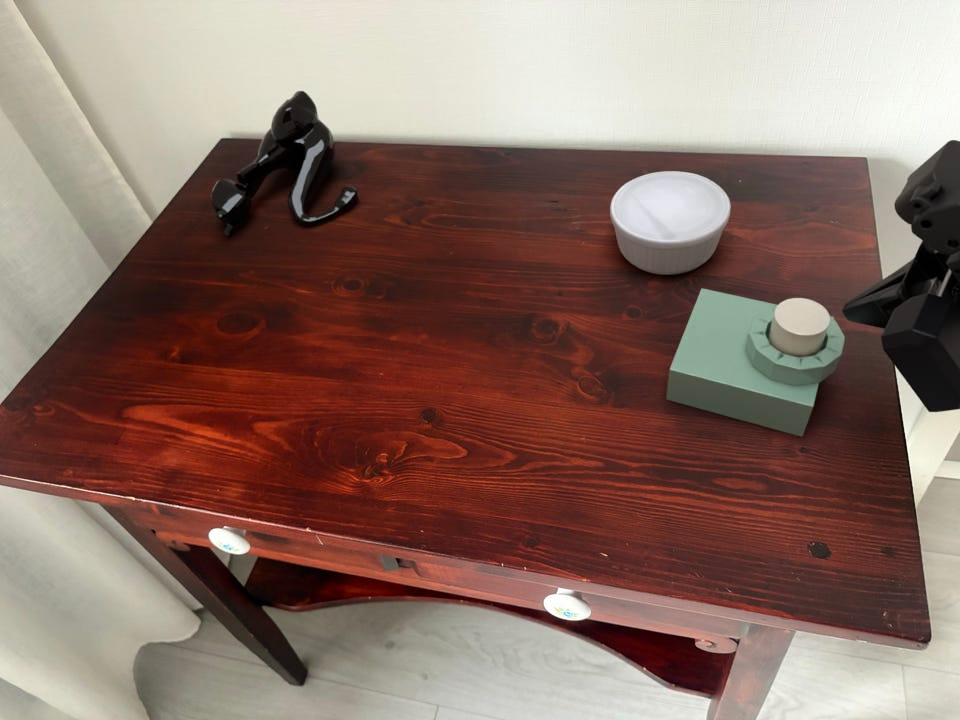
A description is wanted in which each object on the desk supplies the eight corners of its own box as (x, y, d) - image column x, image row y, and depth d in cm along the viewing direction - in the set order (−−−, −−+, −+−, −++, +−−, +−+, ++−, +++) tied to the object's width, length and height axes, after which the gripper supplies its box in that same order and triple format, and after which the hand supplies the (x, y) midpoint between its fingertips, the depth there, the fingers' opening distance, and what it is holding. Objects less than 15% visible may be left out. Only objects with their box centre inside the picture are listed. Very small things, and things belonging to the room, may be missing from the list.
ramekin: (589, 261, 76) (589, 220, 72) (641, 200, 81) (643, 158, 78) (693, 298, 71) (699, 256, 67) (741, 230, 76) (749, 187, 72)
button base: (835, 351, 65) (853, 302, 60) (815, 441, 59) (833, 393, 55) (696, 319, 69) (703, 270, 65) (665, 399, 64) (671, 352, 59)
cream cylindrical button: (826, 327, 60) (834, 304, 58) (817, 363, 57) (825, 340, 55) (774, 315, 61) (780, 292, 59) (763, 350, 59) (769, 327, 57)
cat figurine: (391, 185, 93) (301, 292, 87) (301, 135, 95) (208, 234, 89) (386, 131, 84) (285, 246, 78) (287, 77, 86) (181, 183, 80)
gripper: (1064, 47, 44) (829, 158, 58) (986, 227, 35) (728, 310, 48) (1151, 193, 47) (906, 268, 60) (1099, 397, 38) (824, 432, 51)
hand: (846, 312), depth 55 cm, fingers closed
